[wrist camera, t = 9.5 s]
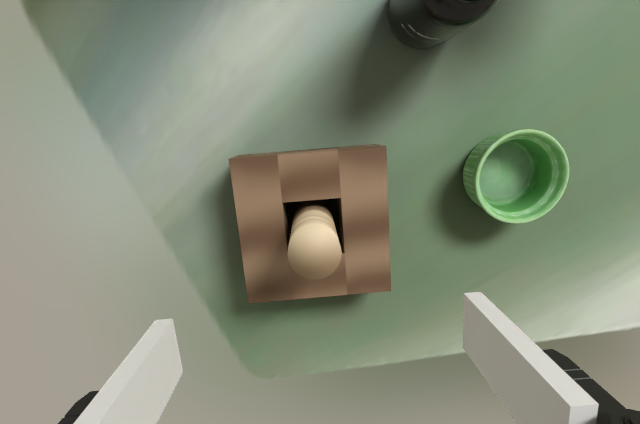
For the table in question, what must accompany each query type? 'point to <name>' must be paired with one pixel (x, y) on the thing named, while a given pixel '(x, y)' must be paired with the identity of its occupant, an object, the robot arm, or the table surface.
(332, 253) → the peg
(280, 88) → the table surface
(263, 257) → the socket block
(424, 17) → the supplement bottle
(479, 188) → the ramekin
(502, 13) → the table surface
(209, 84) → the table surface
